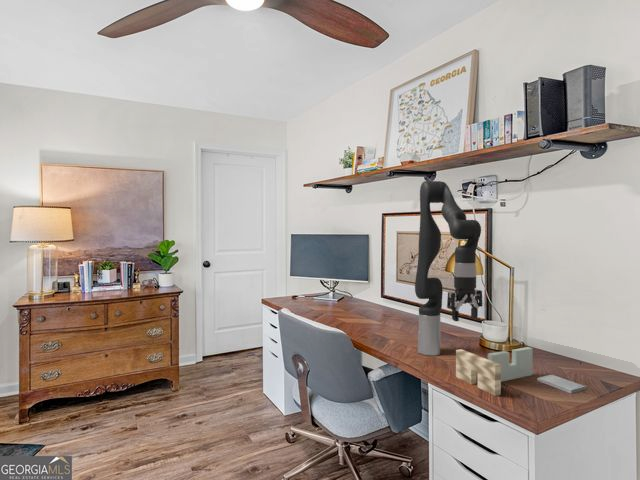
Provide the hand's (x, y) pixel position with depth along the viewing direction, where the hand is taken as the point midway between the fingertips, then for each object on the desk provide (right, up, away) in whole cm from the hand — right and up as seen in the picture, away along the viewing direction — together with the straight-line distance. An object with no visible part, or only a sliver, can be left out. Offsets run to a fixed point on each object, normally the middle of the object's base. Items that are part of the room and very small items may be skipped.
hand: (464, 319), depth 142 cm
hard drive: (+32, -23, -5) cm, 39 cm away
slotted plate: (+17, -22, +1) cm, 28 cm away
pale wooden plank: (+2, -22, -5) cm, 23 cm away
